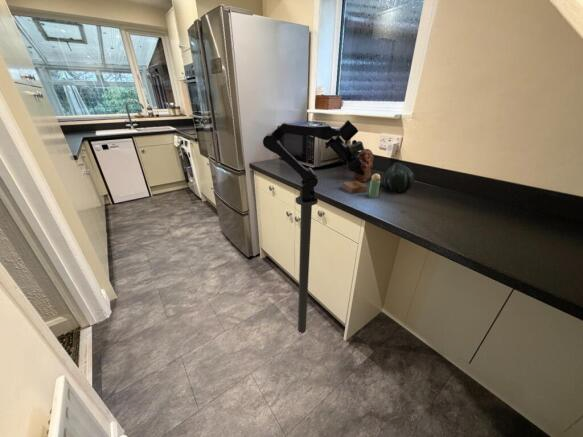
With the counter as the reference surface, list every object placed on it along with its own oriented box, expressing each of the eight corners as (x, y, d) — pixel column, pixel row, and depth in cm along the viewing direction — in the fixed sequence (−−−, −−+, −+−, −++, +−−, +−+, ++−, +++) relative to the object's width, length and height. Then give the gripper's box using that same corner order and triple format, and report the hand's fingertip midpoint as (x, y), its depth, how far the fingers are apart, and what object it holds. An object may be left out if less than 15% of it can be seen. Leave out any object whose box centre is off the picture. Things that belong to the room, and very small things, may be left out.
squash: (424, 182, 119) (410, 156, 120) (407, 189, 111) (393, 161, 113) (401, 192, 131) (389, 169, 133) (385, 199, 124) (372, 174, 125)
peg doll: (372, 198, 114) (376, 175, 108) (366, 195, 117) (369, 173, 112) (379, 196, 115) (383, 174, 110) (373, 193, 119) (376, 171, 113)
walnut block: (351, 193, 119) (351, 188, 117) (342, 187, 126) (342, 182, 125) (366, 191, 121) (366, 186, 120) (356, 186, 129) (357, 180, 128)
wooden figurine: (360, 183, 133) (365, 151, 124) (351, 180, 137) (355, 149, 129) (372, 179, 139) (378, 148, 131) (364, 176, 144) (368, 146, 135)
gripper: (359, 138, 94) (382, 165, 100) (349, 132, 111) (369, 155, 116) (338, 158, 98) (361, 182, 103) (331, 148, 115) (351, 170, 120)
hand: (361, 172), depth 110 cm, fingers open, 9 cm apart
